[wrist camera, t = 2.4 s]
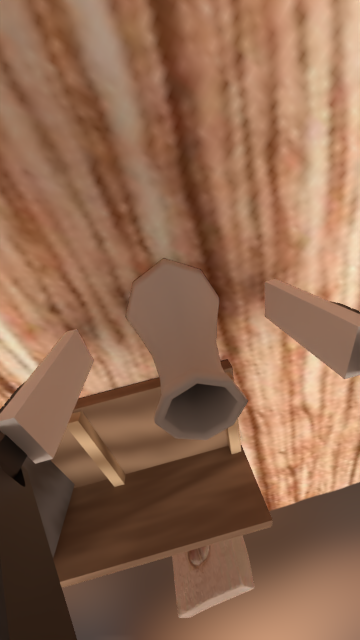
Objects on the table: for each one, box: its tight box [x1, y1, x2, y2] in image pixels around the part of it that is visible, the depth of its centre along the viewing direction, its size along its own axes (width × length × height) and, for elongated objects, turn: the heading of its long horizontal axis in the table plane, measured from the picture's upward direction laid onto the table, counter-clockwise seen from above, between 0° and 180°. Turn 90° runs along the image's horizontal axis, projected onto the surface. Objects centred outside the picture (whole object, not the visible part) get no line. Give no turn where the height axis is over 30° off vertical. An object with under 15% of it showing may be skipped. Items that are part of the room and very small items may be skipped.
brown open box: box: [22, 360, 272, 588], centre depth 17 cm, size 14×22×10 cm, turn 102°
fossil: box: [173, 536, 255, 618], centre depth 29 cm, size 12×4×10 cm, turn 137°
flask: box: [126, 258, 248, 440], centre depth 11 cm, size 7×7×10 cm
